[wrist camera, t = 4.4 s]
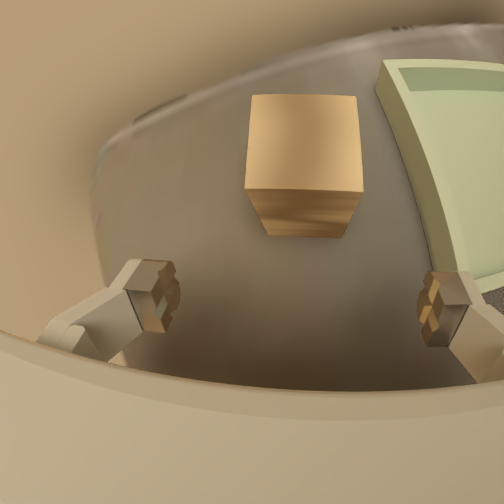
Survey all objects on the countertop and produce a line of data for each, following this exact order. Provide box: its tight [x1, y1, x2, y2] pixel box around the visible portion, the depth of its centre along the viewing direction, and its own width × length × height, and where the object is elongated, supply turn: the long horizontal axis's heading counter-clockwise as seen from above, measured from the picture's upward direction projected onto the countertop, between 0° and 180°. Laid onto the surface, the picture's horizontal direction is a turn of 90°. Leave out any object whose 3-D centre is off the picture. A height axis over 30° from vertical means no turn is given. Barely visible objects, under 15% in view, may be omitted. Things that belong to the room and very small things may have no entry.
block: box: [245, 94, 363, 238], centre depth 16 cm, size 4×4×8 cm
